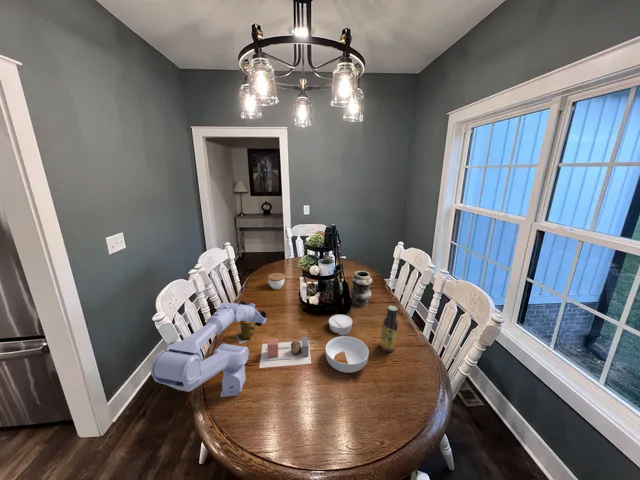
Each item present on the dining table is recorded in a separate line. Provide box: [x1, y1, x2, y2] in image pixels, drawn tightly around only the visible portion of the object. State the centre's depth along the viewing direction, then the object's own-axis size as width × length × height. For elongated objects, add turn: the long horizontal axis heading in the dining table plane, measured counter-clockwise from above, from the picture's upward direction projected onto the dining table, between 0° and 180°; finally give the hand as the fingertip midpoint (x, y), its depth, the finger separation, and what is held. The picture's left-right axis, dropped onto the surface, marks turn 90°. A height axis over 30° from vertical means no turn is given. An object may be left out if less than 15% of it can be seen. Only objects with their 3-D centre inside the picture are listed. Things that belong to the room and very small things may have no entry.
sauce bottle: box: [380, 305, 399, 353], centre depth 109 cm, size 7×6×20 cm
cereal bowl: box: [324, 335, 370, 374], centre depth 102 cm, size 17×17×7 cm
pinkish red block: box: [266, 337, 279, 358], centre depth 105 cm, size 4×4×6 cm
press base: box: [258, 336, 312, 369], centre depth 106 cm, size 14×20×6 cm
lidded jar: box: [267, 272, 286, 290], centre depth 167 cm, size 11×11×9 cm
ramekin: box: [328, 314, 353, 337], centre depth 123 cm, size 11×11×5 cm
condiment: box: [234, 321, 256, 345], centre depth 117 cm, size 7×8×12 cm
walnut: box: [291, 340, 301, 356], centre depth 106 cm, size 4×4×4 cm
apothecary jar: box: [349, 270, 373, 307], centre depth 148 cm, size 12×12×18 cm
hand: (257, 314), depth 108 cm, fingers open, 7 cm apart
